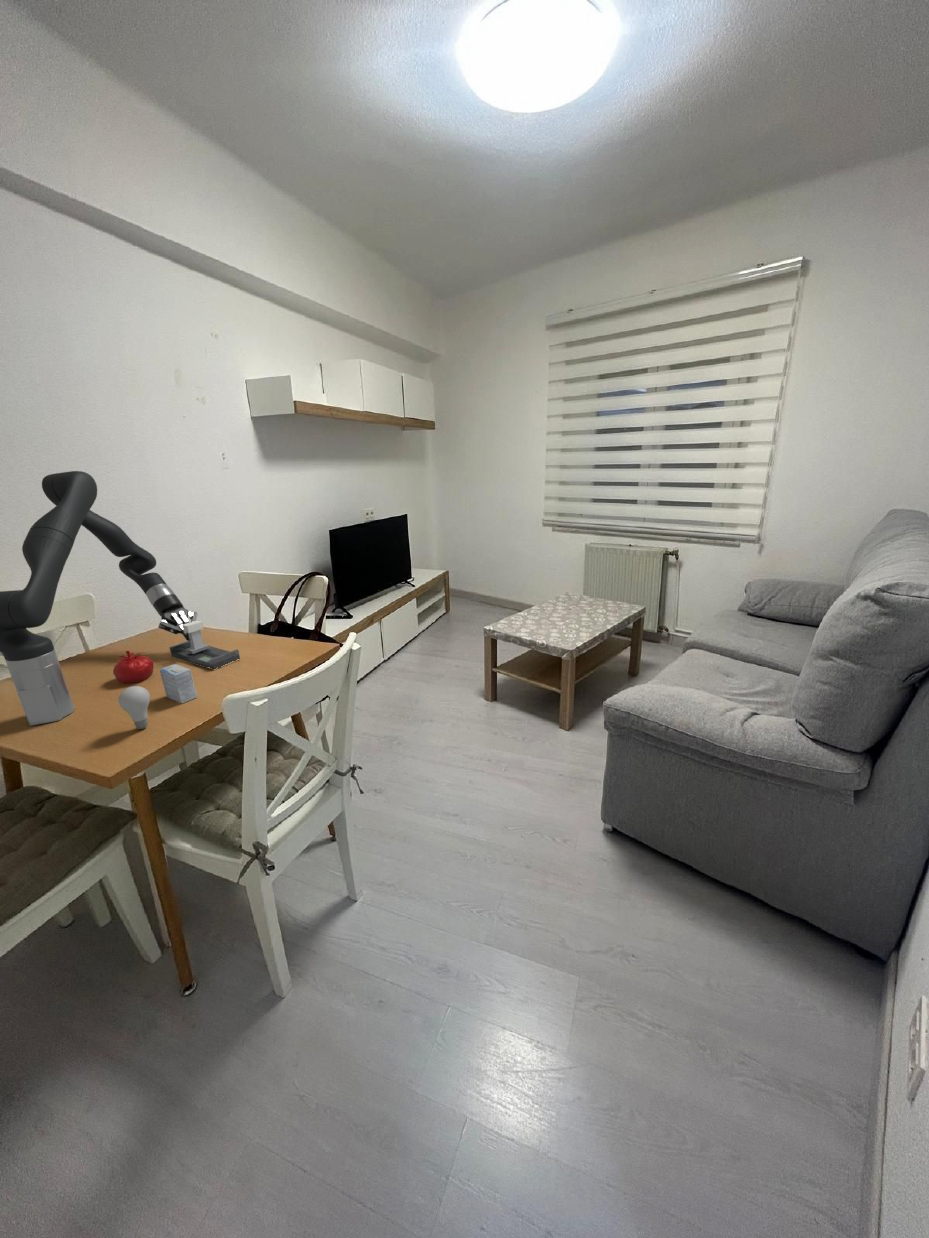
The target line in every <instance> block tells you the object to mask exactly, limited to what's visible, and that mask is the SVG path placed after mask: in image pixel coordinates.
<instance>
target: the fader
mask: <svg viewBox="0 0 929 1238" xmlns="http://www.w3.org/2000/svg"><path fill="white" fill-rule="evenodd" d="M182 627H183V631H184V632H186V633H188V635H189V639H190V644H191V647H190V648H187V649H185V650H186V652H188V653H191V654H194V653H197V652H200V651H203V650H206V649H208V648H210V646H211V644H207V643H204V642H203V641H204V640H203V637H202V632H201V630H204V628H205V626H204V624H203V621H202V620H201V621H200V620H196V621H193V622H191V621H190V622H189V623H187V624H183V625H182Z"/></svg>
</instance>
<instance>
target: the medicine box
mask: <svg viewBox="0 0 929 1238" xmlns="http://www.w3.org/2000/svg"><path fill="white" fill-rule="evenodd" d="M159 674H160V677H161V678H160V679H161V681H162V684H163V688H164V692H165V695H166V698H168V699H170V700H173V701H176V702H177V703H180V704H186V703H188V702H190V701H193V700H194V699H197V698H198V694H197V689H196V686H195V683H194V679H193V675H192V670H191V669H190V668H188V667H185V666H181V665H179V664H177V663H175V664H170V665H168V666H165V667H163V668H161V669H159Z"/></svg>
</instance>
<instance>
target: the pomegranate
mask: <svg viewBox="0 0 929 1238" xmlns="http://www.w3.org/2000/svg"><path fill="white" fill-rule="evenodd" d="M125 653H126V655H120V656H118V658H121V659H119V660H118V661H117V662H116V664H115V666H114V667H113V670H112V672H113V673H112V674H113V675H114V678H115V679H116V681H117V682H119V683H120V684H121V683H122V684H132V683H138V682H142V681H144V680H146V679H148V678H150V677H151V676H152V674H153V672H154V667H155V665H154V661H153V660H151V659H150V658H148V657H147V656H145V655H140V652H138V653H136V654H135V652H131V651H130V650H126V651H125ZM144 653H145V652H142V654H144ZM133 654H135V655H133Z"/></svg>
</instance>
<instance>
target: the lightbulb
mask: <svg viewBox="0 0 929 1238" xmlns="http://www.w3.org/2000/svg"><path fill="white" fill-rule="evenodd" d="M150 701H151V695H150V693H149V691H148V690H147V689H146V688H144V687H143V686H139V685H136V686H134V685H133V686H129V687H127V688H125V689H124V690H123V691H122V692H120V694H119V696H118V704H119V707H120V708H121V709H122V710H124V711H125V712H126V713H127V714H128V715H129V717H130V718H131V720H132V722H133V723H134V726H135V728H136V729H140V730H143V729H146V727H148V725H149V721H148V716H149V715H148V707H149V705H150Z"/></svg>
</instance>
